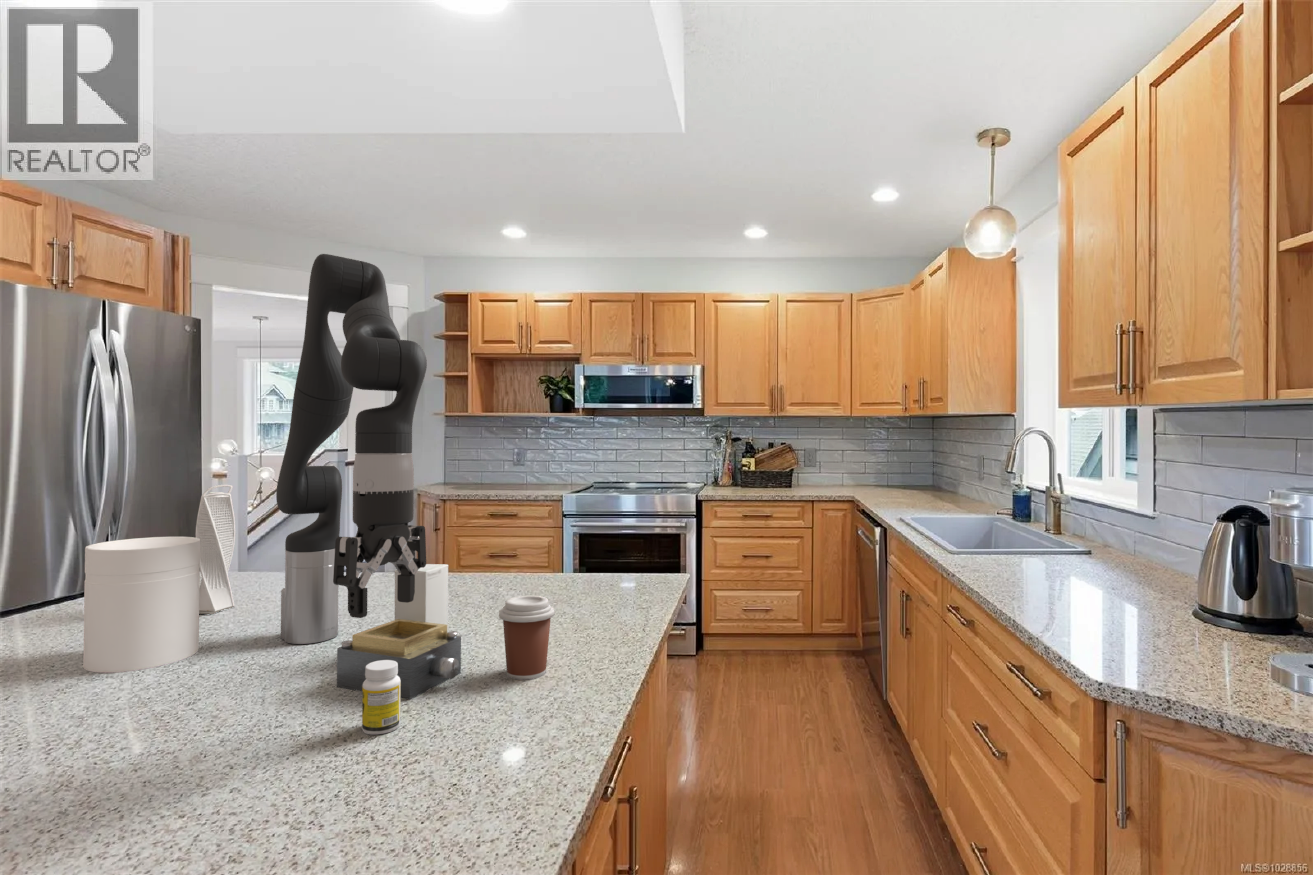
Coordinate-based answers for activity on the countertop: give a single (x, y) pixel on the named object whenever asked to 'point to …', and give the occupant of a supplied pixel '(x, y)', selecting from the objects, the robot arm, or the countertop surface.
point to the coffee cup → (526, 635)
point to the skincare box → (426, 596)
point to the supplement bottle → (381, 697)
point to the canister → (141, 603)
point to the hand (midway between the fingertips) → (382, 609)
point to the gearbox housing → (402, 655)
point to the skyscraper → (215, 550)
